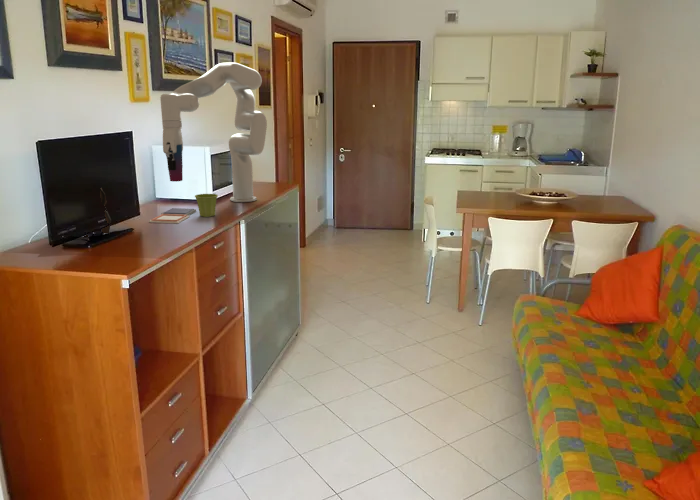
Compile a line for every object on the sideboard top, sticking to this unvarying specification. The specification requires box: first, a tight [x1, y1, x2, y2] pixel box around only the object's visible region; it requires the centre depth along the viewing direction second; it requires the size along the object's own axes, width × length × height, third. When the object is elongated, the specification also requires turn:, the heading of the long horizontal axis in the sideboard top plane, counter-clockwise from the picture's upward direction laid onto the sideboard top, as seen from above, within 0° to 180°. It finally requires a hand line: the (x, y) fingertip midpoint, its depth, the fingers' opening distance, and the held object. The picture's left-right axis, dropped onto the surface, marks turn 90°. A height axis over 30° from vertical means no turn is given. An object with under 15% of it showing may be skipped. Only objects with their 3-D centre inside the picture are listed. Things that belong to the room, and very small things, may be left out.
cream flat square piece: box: [148, 214, 190, 224], centre depth 230 cm, size 12×12×1 cm
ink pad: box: [160, 207, 197, 216], centre depth 242 cm, size 11×11×1 cm
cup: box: [166, 144, 184, 182], centre depth 235 cm, size 7×7×15 cm
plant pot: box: [194, 193, 219, 218], centre depth 237 cm, size 9×9×9 cm
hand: (175, 168), depth 236 cm, fingers closed on cup, 6 cm apart
